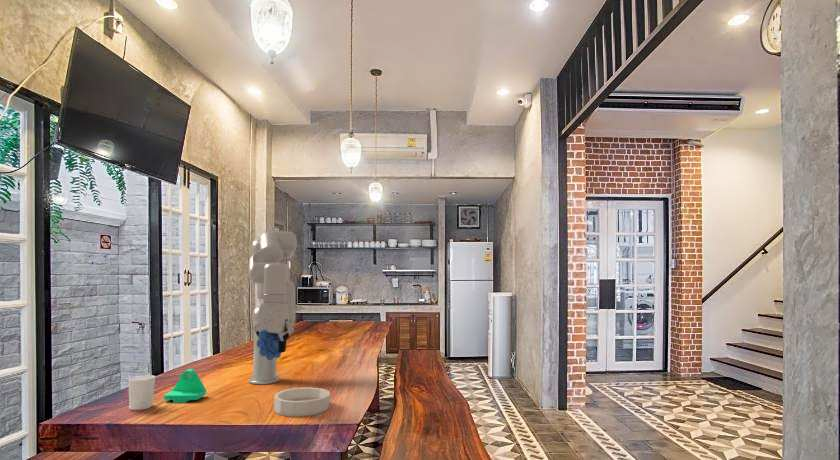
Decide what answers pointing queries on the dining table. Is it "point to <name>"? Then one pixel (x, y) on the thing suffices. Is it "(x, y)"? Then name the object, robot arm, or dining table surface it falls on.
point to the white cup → (141, 392)
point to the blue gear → (269, 345)
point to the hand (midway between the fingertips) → (272, 351)
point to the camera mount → (187, 388)
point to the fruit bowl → (301, 402)
